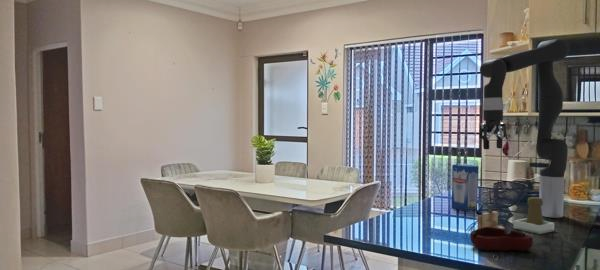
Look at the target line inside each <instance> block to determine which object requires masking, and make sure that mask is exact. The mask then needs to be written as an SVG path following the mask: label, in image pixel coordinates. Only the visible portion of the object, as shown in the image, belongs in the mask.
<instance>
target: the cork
mask: <svg viewBox="0 0 600 270" xmlns="http://www.w3.org/2000/svg"><path fill="white" fill-rule="evenodd" d="M542 204H543V201H542V199H541V198H539V196H531V197H528V198H527V205H528V210H527V217H526V218H527V222H526V223H530V224H535V225H543V221H544V219H543V216H542V210H541V206H542Z"/></svg>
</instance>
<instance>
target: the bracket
mask: <svg viewBox="0 0 600 270" xmlns="http://www.w3.org/2000/svg"><path fill="white" fill-rule="evenodd" d="M493 207H494V206H493V204H489V203H488V204H487V212H483V213H481V214H480V215H477V229H480V228H483V227H491V228H498V229H504V230H506V228H505V226H502V225H498V223H499V220H498V219H499V218H498V217H499V212H498V211H496V210H495V211H494V209H493Z"/></svg>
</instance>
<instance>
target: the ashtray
mask: <svg viewBox="0 0 600 270" xmlns="http://www.w3.org/2000/svg"><path fill="white" fill-rule="evenodd" d="M469 236H470V241H471V242H470V243H471V244H472V246H474V247H476V248H478V250H479V252H483V253H484V252H485V253H488V252H489V253H490V251H499V252H500V251H501V252H505V251H515V252H517V253H525V252H527V251H529V250H530V249H531V248H532V246H533V244H534V241H533V236H530V235H528V234H526V233H524V232H523V231H518V230H510V233H508V232H506V231H505V229H498V228H491V227H483V228H480V229H478V228H477V229H474V230H472V231H470V235H469Z"/></svg>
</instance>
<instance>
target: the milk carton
mask: <svg viewBox="0 0 600 270" xmlns="http://www.w3.org/2000/svg"><path fill="white" fill-rule="evenodd" d="M479 168H480V167H479V165H471V164H463V163H461V164H458V163H457V164H452V171H451V172H452V173H451V204H450V206H451V207H450V208H452V209H457V210H460V211H464V210H465V212H471V211H470V210H476V211H478V205H479V204H478V201H479V200H478V199H479V196H478V195H479Z"/></svg>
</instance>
